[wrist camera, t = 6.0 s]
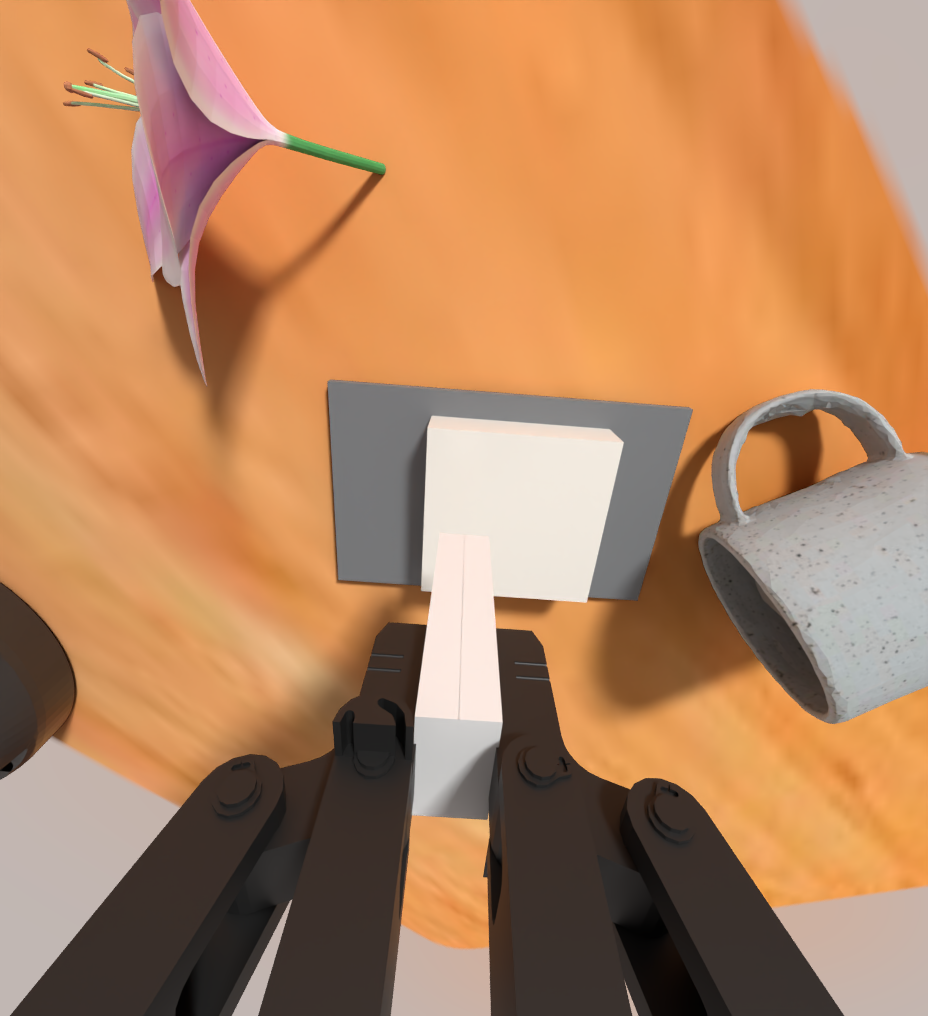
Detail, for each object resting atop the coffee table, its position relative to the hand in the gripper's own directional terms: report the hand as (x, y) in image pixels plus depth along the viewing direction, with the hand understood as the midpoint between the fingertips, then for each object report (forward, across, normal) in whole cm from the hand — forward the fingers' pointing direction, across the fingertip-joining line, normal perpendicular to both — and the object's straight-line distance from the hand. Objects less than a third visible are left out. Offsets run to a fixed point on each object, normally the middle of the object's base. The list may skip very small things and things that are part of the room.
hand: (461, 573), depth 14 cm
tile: (+5, -2, 0) cm, 5 cm away
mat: (+6, +2, 0) cm, 6 cm away
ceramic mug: (+6, +14, 0) cm, 15 cm away
